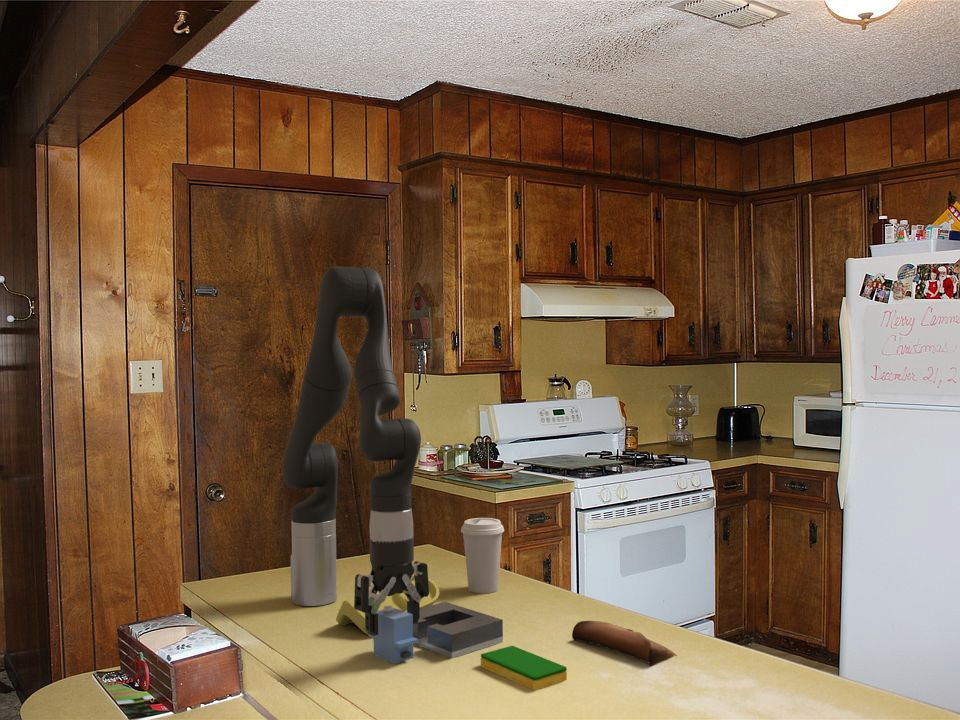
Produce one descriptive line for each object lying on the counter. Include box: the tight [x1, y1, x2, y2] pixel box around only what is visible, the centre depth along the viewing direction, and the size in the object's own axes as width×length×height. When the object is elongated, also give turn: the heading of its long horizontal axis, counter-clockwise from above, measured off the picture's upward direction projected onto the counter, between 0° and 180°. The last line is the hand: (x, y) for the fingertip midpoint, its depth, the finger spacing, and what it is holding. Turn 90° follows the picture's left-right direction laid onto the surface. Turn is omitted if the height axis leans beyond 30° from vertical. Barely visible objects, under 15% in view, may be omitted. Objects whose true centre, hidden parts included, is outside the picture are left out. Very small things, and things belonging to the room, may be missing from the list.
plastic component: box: [335, 575, 440, 635], centre depth 172 cm, size 20×7×10 cm
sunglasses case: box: [571, 620, 678, 667], centre depth 154 cm, size 18×7×7 cm
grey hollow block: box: [413, 601, 504, 659], centre depth 160 cm, size 16×12×4 cm
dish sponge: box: [480, 645, 568, 691], centre depth 143 cm, size 7×14×2 cm, turn 38°
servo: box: [367, 606, 419, 664], centre depth 151 cm, size 4×9×8 cm, turn 42°
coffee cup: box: [460, 517, 505, 594], centre depth 193 cm, size 10×10×15 cm
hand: (393, 628), depth 151 cm, fingers open, 8 cm apart
